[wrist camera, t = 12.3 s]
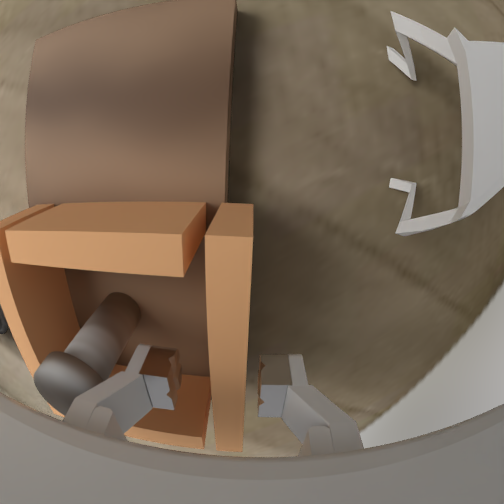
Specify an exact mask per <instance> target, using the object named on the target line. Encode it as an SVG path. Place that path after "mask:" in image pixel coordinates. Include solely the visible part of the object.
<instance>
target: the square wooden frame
mask: <svg viewBox="0 0 504 504" xmlns="http://www.w3.org/2000/svg"><path fill="white" fill-rule="evenodd" d="M205 233H206V234H205ZM204 235H205V275H206V307H207V331H208V350H209V366H210V377H205V376H194V375H184V374H182V381H181V386H180V389H178V390H177V396H178V398H177V402H176V406H175V410H169V409H161V408H153V407H152V409H151V410H150V411H149V412H148V413H147V414H146V415H145V416H144V417H142V418H141V419H140V420H139V421H138V422H137V423H136V424H135V425H133V426H132V427H131V428H130V429H129V430H128V431H126V432H125V433H124V435H125V436H128V437H133V438H137V439H142V440H146V441H152V442H157V443H162V444H168V445H175V446H181V447H189V448H197V449H204V445H205V438H206V430H207V423H208V416H209V409H210V402H211V395H212V407H213V419H214V429H215V439H216V449H217V450H218V451H233V452H242V448H243V429H244V409H245V390H246V370H247V350H248V330H249V311H250V291H251V271H252V251H253V204H242V203H221V205H220V207H219V209H218V211H217V213H216V215H215V216H214V218H213V220H212V222H211V224H210V226H209V228H208V230H207V232H206V202H86V203H63V204H60V205H58V206H56V207H54V204H40V205H35V206H33V207H31V208H28V209H26V210H24V211H21V212H19V213H17V214H14V215H12V216H10V217H8V218H6V219H3V220H1V221H0V304H1V307H2V310H3V312H4V315H5V318H6V320H7V323H8V325H9V328H10V330H11V333H12V335H13V337H14V340H15V342H16V344H17V346H18V349H19V351H20V353H21V355H22V357H23V359H24V361H25V363H26V365H27V367H28V369H29V371H30V373H31V375H32V377H34V373H35V371H36V370H37V369H38V367H39V366H40V365H41V363H42V362H43V361H44V359H45V358H46V357H47V355H48V354H49V353H51V352H54V351H61V352H64V351H65V349H66V348H67V347H68V345H69V344H70V343H71V341H72V340H73V339H74V337H75V336H76V335H77V333H78V332H79V331H80V327H79V324H78V321H77V317H76V314H75V310H74V307H73V303H72V299H71V295H70V291H69V287H68V283H67V279H66V274H65V270H64V268H70V269H81V270H92V271H103V272H116V273H128V274H142V275H156V276H171V277H184V275H185V273H186V271H187V269H188V267H189V265H190V263H191V261H192V259H193V257H194V255H195V253H196V251H197V249H198V247H199V245H200V243H201V241H202V239H203V237H204ZM126 368H127V366H123V365H117V364H115V366H114V368H113V370H112V372H111V374H110V376H109V378H110V377H112V376H114V375H116V374H117V373H119V372H121V371H124V372H125V370H126ZM109 378H108V379H109ZM33 379H34V378H33ZM47 403H48V402H47ZM48 404H49V403H48ZM49 406H50V407H51V409H52V411H53V412H54V413H55V414H57V415H60V416H62V417H65V416H64V415H63V414H61V413H60V412H58V411H57V410H56V409H55V408H53V407H52V406H51V405H50V404H49Z"/></svg>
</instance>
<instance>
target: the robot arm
mask: <svg viewBox="0 0 504 504" xmlns="http://www.w3.org/2000/svg"><path fill="white" fill-rule="evenodd" d="M179 358H180V354H179V350H178V349H176V348H169V347H162V346H155V345H146V344H139V345H138V346H137V348H136V350H135V352H134V354H133V356H132V358H131V360H130V362H129V364H128V366H127V368H126V370H125V372H124V371H121V372H119V373H117V374H116V375H114V376H112V377H110V378H109V379H107V380H105V381H104V382H102V383H100V384H98V385H97V386H95V387H93V388H91V389H90V390H88V391H86V392H84V393H83V394H81V395H79V396H77V397H76V398H75V399H74V401H73V402H72V404H71V406H70V408H69V410H68V412H67V413H66V415H65V417H64V419H63V421H61V420H58V419H56V418H53V417H51V416H48V415H46V414H44V413H41V412H39V411H37V410H34V409H32V408H30V407H28V406H26V405H24V404H22V403H20V402H18V401H16V400H14V399H12V398H10V397H8V396H6V395H4V394H2V393H0V504H504V404H503V405H500V406H498V407H496V408H493V409H491V410H489V411H487V412H485V413H483V414H480V415H478V416H475V417H473V418H471V419H468V420H466V421H463V422H460V423H458V424H455V425H452V426H449V427H447V428H444V429H441V430H438V431H435V432H431V433H428V434H425V435H421V436H418V437H414V438H411V439H407V440H403V441H399V442H395V443H390V444H386V445H381V446H376V447H371V448H365V449H364V447H363V444H362V440H361V437H360V434H359V430H358V427H357V424H356V421H355V420H353V419H352V418H351V417H350V416H349V415H347V414H346V413H345V412H344V411H342V410H341V409H340V408H339V407H338V406H336V405H335V404H334V403H333V402H332V401H330V400H329V399H328V398H327V397H326V396H325V395H323V394H322V393H321V392H320V391H319V390H318V389H316V388H315V387H314V386H313V385H308V381H307V376H306V371H305V366H304V361H303V357H302V355H301V354H260V359H259V370H258V417H282V420H283V421H284V422H285V423H286V425H287V426H288V427H289V428H290V430H291V431H292V432H293V433H294V434H295V436H296V437H297V438H298V439H299V441H300V442H301V443H302V444H303V445H302V447H301V450H300V452H299V455H298V456H295V457H232V456H217V455H206V454H197V453H189V452H181V451H175V450H168V449H163V448H157V447H152V446H147V445H142V444H137V443H133V442H129V441H127V439H126V437H125V435H124V433H125V432H126V431H128V430H129V429H130V428H131V427H132V426H133V425H135V424H136V423H137V422H138V421H139V420H140V419H141V418H142V417H144V416H145V415H146V414H147V413H148V412H149V411H150V410H151V409H152V407H153V408H161V409H169V410H175V406H176V402H177V398H178V396H177V390H178V389H180V386H181V381H182V367H181V364H180V363H179Z"/></svg>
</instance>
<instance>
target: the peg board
mask: <svg viewBox="0 0 504 504" xmlns="http://www.w3.org/2000/svg"><path fill="white" fill-rule="evenodd" d="M236 23H237V4H236V0H172V1H165V2H158V3H152V4H147V5H142V6H137V7H132V8H127V9H123V10H119V11H115V12H111V13H108V14H104V15H101V16H97V17H94V18H91V19H88V20H85V21H82V22H79V23H76V24H73V25H70V26H68V27H65V28H62V29H60V30H57V31H55V32H52V33H50V34H48V35H45V36H43V37H41V38H39V39H37V40H36V42H35V46H34V51H33V57H32V63H31V69H30V76H29V84H28V93H27V105H26V122H25V164H26V182H27V193H28V203H29V208H31V207H33V206H35V205H40V204H54V207H56V206H58V205H60V204H63V203H86V202H206V232H207V230H208V228H209V226H210V224H211V222H212V220H213V218H214V216H215V215H216V213H217V211H218V209H219V207H220V205H221V203H228V176H229V148H230V124H231V103H232V84H233V67H234V51H235V36H236ZM205 234H206V233H205ZM64 270H65V274H66V279H67V283H68V287H69V291H70V295H71V299H72V303H73V307H74V310H75V314H76V317H77V321H78V324H79V327H80V331H79V332H78V333H77V335H76V336H75V337H74V339H73V340H72V341H71V343H70V344H69V345H68V347H67V348H66V349H65V351H64V352H61V351H54V352H51V353H49V354H48V355H47V357H46V358H45V359H44V361H43V362H42V363H41V365H40V366H39V367H38V369H37V370H36V371H35V373H34V377H33V378H34V383H35V385H36V387H37V389H38V391H39V392H40V394H41V395H42V396H43V398H44V399H45V400H46V401H47V402H48V403H49V404H50V405H51V406H52V407H53V408H55V409H56V410H57V411H58V412H60V413H61V414H63V415H64V416H65V415H66V413H67V412H68V410H69V408H70V406H71V404H72V402H73V401H74V399H75V398H76V397H77V396H79V395H81V394H83V393H84V392H86V391H88V390H90V389H91V388H93V387H95V386H97V385H98V384H100V383H102V382H104V381H105V380H107V379H108V378H109V376H110V374H111V372H112V370H113V368H114V366H115V364H117V365H123V366H128V364H129V362H130V360H131V358H132V356H133V354H134V352H135V350H136V348H137V346H138V345H139V344H146V345H155V346H162V347H169V348H176V349H178V350H179V354H180V358H179V363H180V364H181V367H182V374H184V375H194V376H205V377H210V366H209V350H208V331H207V307H206V275H205V235H204V237H203V239H202V241H201V243H200V245H199V247H198V249H197V251H196V253H195V255H194V257H193V259H192V261H191V263H190V265H189V267H188V269H187V271H186V273H185V275H184V277H171V276H156V275H142V274H128V273H116V272H103V271H92V270H81V269H70V268H64ZM211 400H212V395H211Z"/></svg>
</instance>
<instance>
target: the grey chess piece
mask: <svg viewBox="0 0 504 504" xmlns="http://www.w3.org/2000/svg"><path fill="white" fill-rule="evenodd" d="M7 330H8V323H7V320H6V318H5V315H4V312H3V310H2V307H1V304H0V334H3V333H5V332H6V331H7Z"/></svg>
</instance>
